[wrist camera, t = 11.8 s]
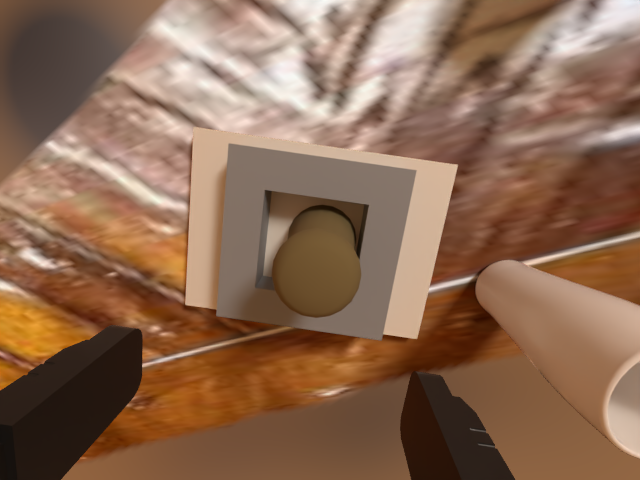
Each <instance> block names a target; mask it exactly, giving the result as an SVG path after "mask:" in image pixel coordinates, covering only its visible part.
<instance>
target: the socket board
mask: <svg viewBox="0 0 640 480" xmlns="http://www.w3.org/2000/svg"><path fill="white" fill-rule="evenodd" d="M457 166H458V165H455V164H448V163H441V162H434V161H427V160H420V159H413V158H406V157H399V156H392V155H385V154H378V153H371V152H364V151H357V150H350V149H343V148H336V147H329V146H322V145H315V144H308V143H301V142H294V141H287V140H280V139H273V138H266V137H259V136H253V135H246V134H239V133H232V132H225V131H218V130H211V129H204V128H197V127H194V128H193V150H192V171H191V193H190V214H189V236H188V257H187V279H186V300H185V305H189V306H196V307H203V308H210V309H216V310H217V312H216V316H219V317H226V318H233V319H240V320H246V321H253V322H260V323H267V324H273V325H280V326H287V327H294V328H300V329H307V330H314V331H321V332H327V333H334V334H341V335H348V336H354V337H361V338H368V339H375V340H381V341H382V337H383V334H385V335H392V336H399V337H406V338H412V339H417V338H418V333H419V329H420V325H421V321H422V316H423V312H424V308H425V303H426V299H427V295H428V291H429V286H430V282H431V278H432V273H433V269H434V265H435V261H436V256H437V252H438V248H439V243H440V239H441V235H442V231H443V226H444V222H445V218H446V213H447V209H448V205H449V201H450V196H451V192H452V188H453V183H454V179H455V175H456V171H457ZM316 205H327V206H333V207H335V208H337V209H339V210H341V211H343V212H344V213H345V214H346V215H347V216H348V217H349V218H350V220H351V222H352V224H353V226H354V228H355V233H356V244H355V249H354V250H355V252H356V254H357V256H358V258H359V261H360V268H361V280H360V285H359V289H358V291H357V292H356V294H355V296H354V298H353V299H352V301H351V302H350V303H349V304H348V305H347V306H346V307H345V308H344V309H343V310H342V311H340V312H337V313H335V314H333V315H331V316H327V317H319V318H314V317H307V316H302V315H300V314H298V313H296V312H294V311H292V310H290V309H289V308H288V307H287V306H286V305H285V304H284V303H283V302H282V301H281V300H280V298H279V296H278V295H277V293H276V291H275V289H274V284H273V279H272V267H273V260H274V258H275V256H276V254H277V252H278V250H279V248H280V247H281V246H282V245H283V244H284V243H285V242H286V241H287V240H288V233H289V228H290V226H291V224H292V222H293V219H294V218H295V217H296V216H297V215H298V214H299V213H300V212H301V211H303V210H305V209H307V208H309V207H311V206H316Z"/></svg>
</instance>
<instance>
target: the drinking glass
mask: <svg viewBox="0 0 640 480" xmlns="http://www.w3.org/2000/svg"><path fill="white" fill-rule="evenodd" d="M475 293H476V297H477V300H478V302H479V304H480V305H481V306H482V307H483V308H484V309H485V310H486V311H487V312H488V313H489V314H490V315H491V316H492V317H493V318H494V319H495V320H496V322H497V323H498V324H499V325H500V326H501V327H502V328H503V330H504V331H505V332H506V333H507V334H508V335H509V337H510V338H511V339H512V340H513V341H514V342H515V344H516V345H517V346H518V347H519V348H520V350H521V351H522V352H523V353H524V354H525V355H526V357H527V358H528V359H529V360H530V361H531V363H532V364H533V365H534V366H535V367H536V368H537V369H538V371H539V372H540V373H541V374H542V375H543V377H544V378H545V379H546V380H547V381H548V382H549V383H550V384H551V385H552V387H553V388H554V389H555V390H556V391H557V392H558V393H559V394H560V395H561V396H562V397H563V398H564V399H565V400H566V401H567V402H568V403H569V404H570V405H571V406H572V407H573V408H574V409H575V410H576V411H577V412H578V413H579V414H580V415H582V416H583V417H584V418H585V419H586V420H587V421H588V422H589V423H590V424H591V425H592V426H594V427H595V428H596V429H597V430H598V431H599V432H600V433H601V434H603V435H604V436H605V437H606V438H607V439H608V440H609V441H610V442H611V443H612V444H613V445H615V446H616V447H617V448H618V449H620V450H622V451H623V452H625V453H626V454H628V455H630V456H633V457H635V458H639V459H640V305H637V304H635V303H632V302H629V301H627V300H624V299H621V298H618V297H616V296H613V295H610V294H607V293H604V292H601V291H598V290H595V289H592V288H589V287H586V286H583V285H580V284H577V283H575V282H572V281H569V280H566V279H563V278H560V277H557V276H554V275H552V274H549V273H546V272H543V271H540V270H537V269H535V268H532V267H530V266H528V265H526V264H524V263H521V262H519V261H514V260H502V261H498V262H495V263H493V264H491V265H489V266H488V267H487V268H485V269H484V270H483V271H482V273H481V274H480V275H479V277H478V279H477V282H476V286H475Z"/></svg>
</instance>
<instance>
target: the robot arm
mask: <svg viewBox="0 0 640 480" xmlns="http://www.w3.org/2000/svg"><path fill="white" fill-rule="evenodd" d="M141 378H142V332H141V330H139V329H136V328H129V327H122V326H116V325H111V326H109V327H107V328H105V329H104V330H103V331H101V332H100V333H98V334H97V335H95V336H94V337H92V338H91V339H90V340H85V341H82V342H80V343H77V344H75V345H72V346H70V347H67V348H65V349H63V350H61V351H60V352H58V353H57V354H55V355H54V356H52V357H51V358H49V359H48V360H46V361H45V363H44V364H40V365H39V366H37V367H36V368H34V369H33V370H31V371H30V372H28V375H24V376H22V377H21V378H19V379H17V380H16V381H14V382H13V383H11V384H10V385H8V386H7V387H5V388H4V389H2V390H1V391H0V480H61V479H62V478H63V476H64V475H65V474H66V473H67V472H68V471H69V470H70V469H71V467H72V466H73V465H74V464H75V463H76V462H77V461H78V460H79V458H80V457H81V456H82V455H83V454H84V453H85V452H86V451H87V449H88V448H89V447H90V446H91V445H92V444H93V443H94V441H95V440H96V439H97V438H98V437H99V436H100V435H101V434H102V432H103V431H104V430H105V429H106V428H107V427H108V426H109V425H110V423H111V422H112V421H113V420H114V419H115V418H116V417H117V415H118V414H119V413H120V412H121V411H122V410H123V409H124V408H125V406H126V405H127V404H128V403H129V402H130V401H131V400H132V398H133V397H134V396H135V394H136V392H137V390H138V388H139V385H140V382H141ZM400 431H401V440H402V444H403V448H404V452H405V456H406V460H407V464H408V468H409V472H410V476H411V480H515V478H514V477H513V475H512V473H511V472H510V470H509V468H508V466H507V465H506V463H505V461H504V460H503V458H502V456H501V455H500V453H499V451H498V450H497V449H495V444H494V443H493V441H492V439H491V438H490V436H489V434H487V433H486V429H485V427H484V426H483V424H482V422H481V421H480V419H479V417H478V416H477V414H476V412H474V411H473V409H472V408H470V407H469V406H468V405H467V404H466V403H465V402H464V401H463V400H462V399H461V398H460V397H454V396H452V394H451V393H450V391H449V389H448V387H447V385H446V383H445V381H444V379H443V377H441V376H440V375H435V374H429V373H422V372H415V371H414V372H413V373H412V375H411V377H410V381H409V385H408V390H407V394H406V398H405V402H404V407H403V411H402V415H401V426H400Z"/></svg>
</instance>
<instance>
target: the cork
mask: <svg viewBox="0 0 640 480" xmlns="http://www.w3.org/2000/svg"><path fill="white" fill-rule="evenodd" d="M355 244H356V233H355V228H354V226H353V224H352V222H351V220H350V218H349V217H348V216H347V215H346V214H345V213H344V212H343V211H341V210H339V209H337V208H335V207H333V206H327V205H316V206H311V207H309V208H307V209H305V210H303V211H301V212H300V213H299V214H298V215H297V216H296V217H295V218H294V219H293V222H292V224H291V226H290V228H289V233H288V240H287V241H286V242H285V243H284V244H283V245H282V246H281V247H280V248H279V250H278V252H277V254H276V256H275V258H274V260H273V267H272V279H273V284H274V289H275V291H276V293H277V295H278V296H279V298H280V300H281V301H282V302H283V303H284V304H285V305H286V306H287V307H288V308H289V309H290V310H292V311H294V312H296V313H298V314H300V315H302V316H307V317H314V318H319V317H327V316H331V315H333V314H335V313H337V312H340V311H342V310H343V309H344V308H345V307H346V306H347V305H348V304H349V303H350V302H351V301H352V299H353V298H354V296H355V294H356V292H357V291H358V289H359V285H360V280H361V268H360V261H359V258H358V256H357V254H356V252H355V250H354V249H355Z"/></svg>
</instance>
